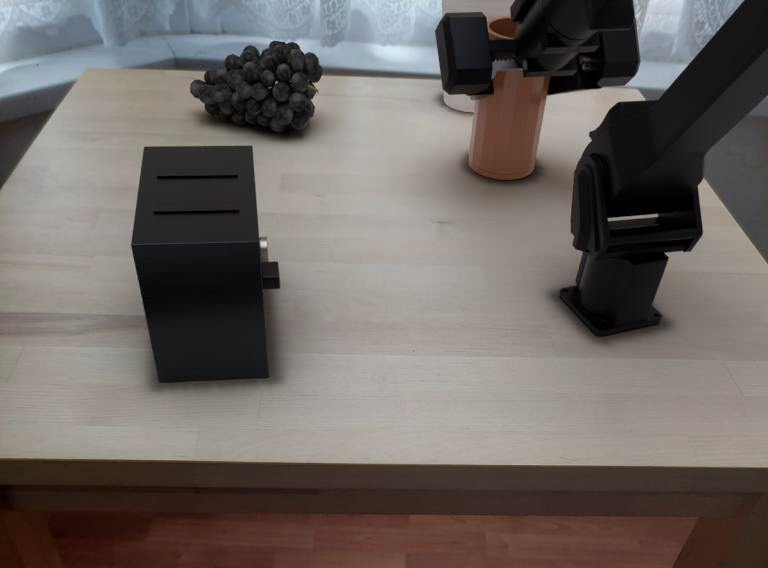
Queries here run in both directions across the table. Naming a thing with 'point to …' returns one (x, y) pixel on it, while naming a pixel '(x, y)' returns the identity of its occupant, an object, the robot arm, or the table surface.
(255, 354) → the toaster
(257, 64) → the fruit
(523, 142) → the brown cylindrical vase
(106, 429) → the table surface
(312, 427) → the table surface
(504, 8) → the foam cup
